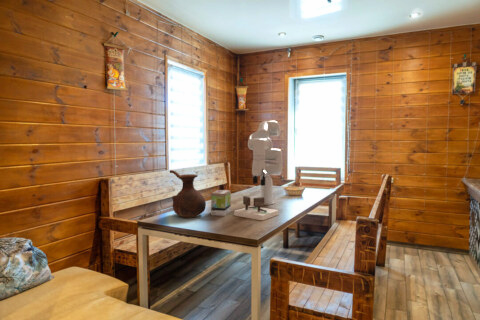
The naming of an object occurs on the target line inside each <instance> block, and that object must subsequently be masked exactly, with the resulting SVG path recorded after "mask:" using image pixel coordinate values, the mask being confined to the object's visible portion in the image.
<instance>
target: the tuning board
mask: <svg viewBox="0 0 480 320" xmlns="http://www.w3.org/2000/svg"><path fill="white" fill-rule="evenodd" d="M249 207H255V206H254V205H250V206H249ZM260 209H263V210H266V211H267V212H264V211H261V210H260V211H258V208H248V209H247V210H246V209H245V207H243V208H240V209H236V210H234V214H233V215H234V216H236V217H240V218H241V217H242V218H246V219H252V220H259V221H265V220H267V219H271V218H273V217H276V216H279V210H278V209H274V208H266V207H262V206H260Z"/></svg>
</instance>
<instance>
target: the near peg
mask: <svg viewBox="0 0 480 320" xmlns="http://www.w3.org/2000/svg"><path fill="white" fill-rule="evenodd" d="M253 206H255V207H257V206H258V211H260V210H261V211H264V212H267V211H266V210H263V209H260V207H265V205H264V197H260V196H259V197H253Z"/></svg>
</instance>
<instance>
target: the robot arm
mask: <svg viewBox="0 0 480 320" xmlns="http://www.w3.org/2000/svg"><path fill="white" fill-rule="evenodd" d="M281 133H282V130H281V125H280V123H279V121H276V120H263V121H261V122H260V123H259V126H258V128H257V130H256V131H254V132H253V133H252V134H250V135H249V137H248V141H247V147H248V149H249V150H252V152H253V153H252V159H253V160H252V164H251V165H252V166H251V169H252V170H251V174H252V184H254V185H255V184H257V185H258V177H260V180H259V181H260V187H259V188H260V196H259V198H260V197H264V206H265V205H267V206H268V205H269V206H270V205H275V201H274V200H276V196H274V195H273V192H274V190H273V189H274V187H273V186H274V185H273V178H272V177H271V176H281V174H282V172H283V151H282V150H281V149H280V148H274V146H273V145H274V144H273V143H274V142H273V140H272V139H271V138H270V137H272V138H274V137H280V135H281Z"/></svg>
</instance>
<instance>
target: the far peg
mask: <svg viewBox="0 0 480 320" xmlns="http://www.w3.org/2000/svg"><path fill="white" fill-rule="evenodd" d="M242 203H243V205H245V206H244V208H245V209H246V210H247V209H248V208H258V206H257V207H250V206H251V197H249V196H248V195H243V196H242Z"/></svg>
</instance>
